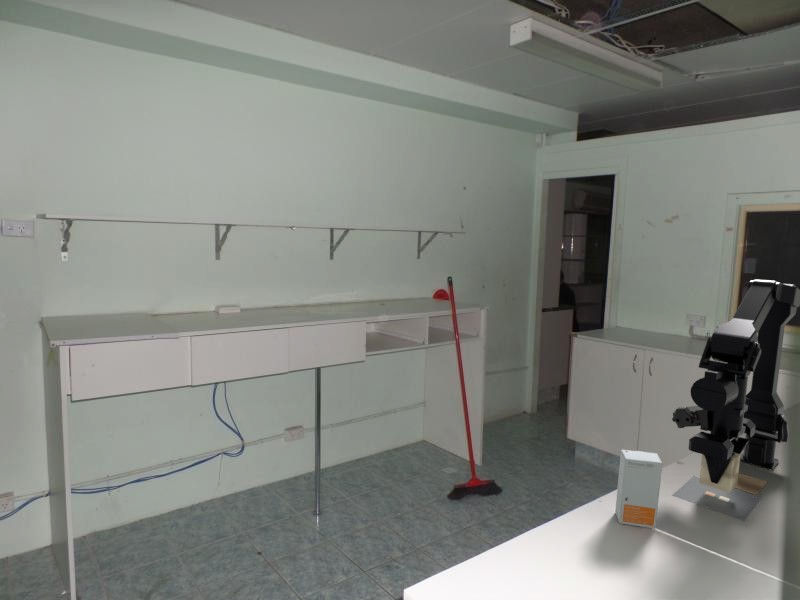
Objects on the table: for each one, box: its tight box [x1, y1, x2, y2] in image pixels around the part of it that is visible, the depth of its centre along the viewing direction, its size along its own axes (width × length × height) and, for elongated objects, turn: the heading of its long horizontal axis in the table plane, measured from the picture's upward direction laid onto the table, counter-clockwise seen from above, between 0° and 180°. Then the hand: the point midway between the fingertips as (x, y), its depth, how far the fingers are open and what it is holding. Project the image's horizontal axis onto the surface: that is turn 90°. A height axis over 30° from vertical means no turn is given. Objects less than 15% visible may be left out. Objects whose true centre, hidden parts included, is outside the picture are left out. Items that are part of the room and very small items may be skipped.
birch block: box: [699, 452, 741, 493], centre depth 100 cm, size 5×5×6 cm
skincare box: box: [615, 449, 663, 530], centre depth 91 cm, size 6×4×12 cm
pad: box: [733, 472, 768, 496], centre depth 107 cm, size 8×8×1 cm
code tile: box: [671, 475, 763, 522], centre depth 101 cm, size 12×12×1 cm
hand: (718, 478), depth 100 cm, fingers closed on birch block, 5 cm apart
